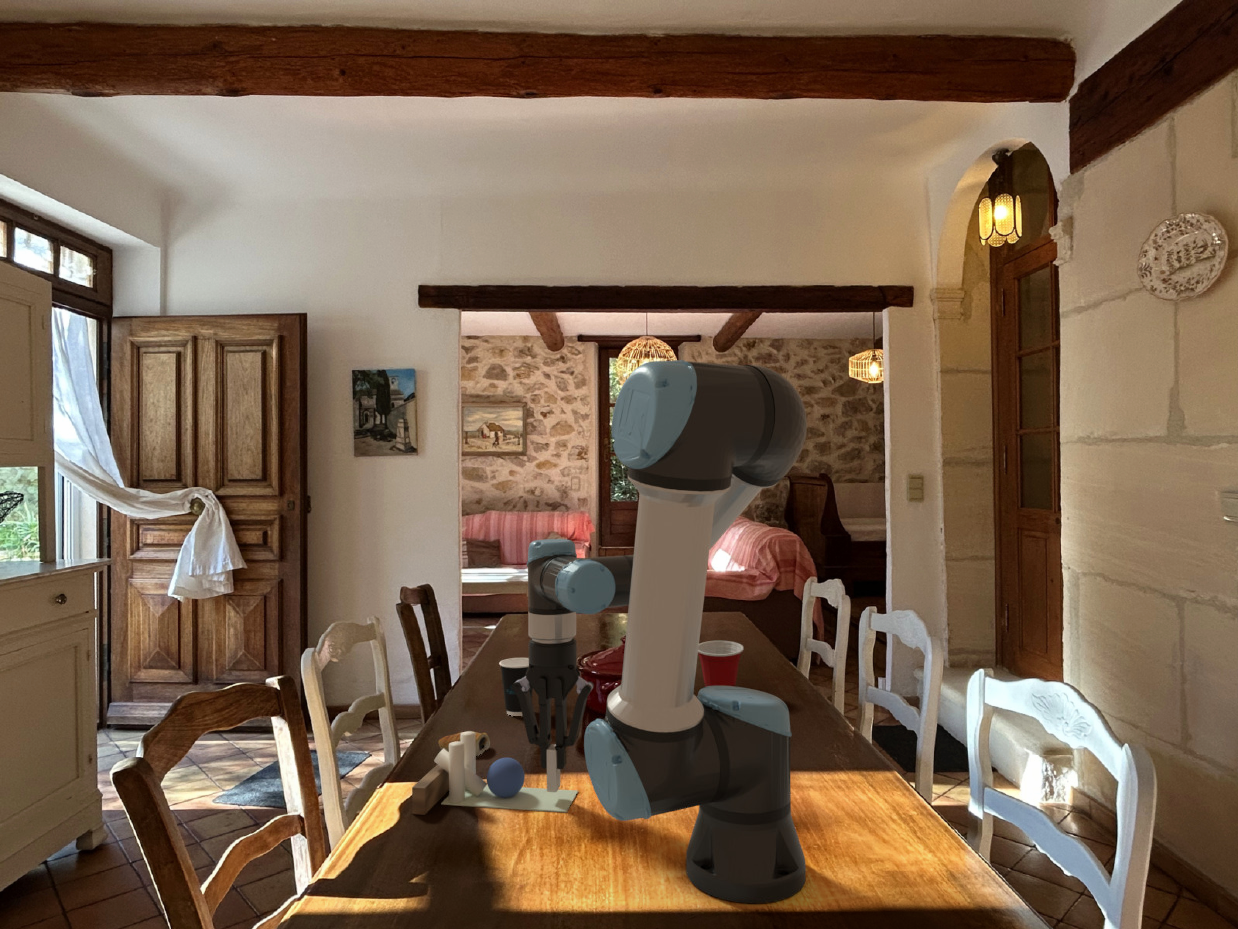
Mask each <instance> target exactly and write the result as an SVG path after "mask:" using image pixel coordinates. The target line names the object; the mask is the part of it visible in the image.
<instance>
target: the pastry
mask: <svg viewBox="0 0 1238 929" xmlns="http://www.w3.org/2000/svg"><path fill="white" fill-rule="evenodd" d="M471 731H472V730H471ZM462 732H463V731H460V732H457V733H455V734H449V735H446V736H443V737H441V738H439V740H438V746H439V749H440V751H441V750H442V749H443V748H444V749H445V750H446V751H448V752H449V743H451V742H456V741H460V734H461V733H462ZM472 732H475V747H476V756H477V757H480V756H481V755H483V753H484V752H485V750H486V751H487V750H489V749H490V747H491V740H490V738H489V735H488V734H487V733H486V732H481V733H480V732H477V731H472ZM460 742H461V741H460ZM480 754H481V755H480ZM479 755H480V756H479Z"/></svg>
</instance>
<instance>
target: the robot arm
mask: <svg viewBox="0 0 1238 929" xmlns="http://www.w3.org/2000/svg"><path fill="white" fill-rule="evenodd" d="M807 430H808V416H807V412H806V407H805V405H804V401H803V400H802V398H801V395H800V393H799V392H798V390H797V389H796V388H795V386H794V385H793V383H791V382H790V380H788V379H787V378H786V377H785V376H783V375H782V374H781V373H778V372H777V371H775V370H773V369H772V368H769V367H766V366H761V365H755V364H743V365H742V364H729V363H715V362H714V363H713V362H702V361H701V362H700V361H688V360H687V361H686V360H683V359H680V360H677V359H674V360H658V361H657V360H656V361H655V360H653V361H648V362H645V363H643V364H641V365H639V366H638V367H636V368H635V369H633V371H632V372H631V373H630V375H629V376H628V378H627V379H626V380H624V383H623V384H622V386H621V389H620V390H619V393H618V395H617V397H616V401H615V404H614V408H613V413H612V418H611V438H612V439H613V440H614V442H613V445H612V447H613V450H614V453H615V455H616V457H617V459H618V461H619V462H621V464H622V465H624V466H626V467H627V469H628V472H627V479H628V480H629V482H630V483H631V484H632V485H633V487H635V489H636V490H637V493H639V495H638V496H639V497H638V505H637V506H638V507H637V517H636V526H635V537H634V547H633V548H634V549H633V550H634V551H633V554H628V555H625V554H624V555H623V554H622V555H613V556H595V557H594V556H593V557H577V556H578V555H577V550H576V549H577V548H576V544H575V542H574V541H572V539H571V540H570V539H564V538H563V539H562V538H552V539H551V538H547V539H546V538H545V539H537V540H533V541H531V542H530V543H529V545H528V549H527V551H528V552H527V555H528V556H527V561H526V566H527V594H528V596H527V598H528V599H527V600H528V604H527V605H528V609H527V610H528V611H527V612H528V617H527V620H528V621H527V622H528V631H527V632H528V633H527V634H528V637H529V638H531V639H530V640H529V641H528V658H529V667H528V670H527V672H526V676H525V677H524V678H522V679H518V680H517V681H516V682H515V683H514V684H513V685H512V689H513V690H514V692H515V693H516V695H517V697H518V699H519V703H520V707H521V711H522V715H523V716H522V719H523V722H524V723H523V724H524V727H525V731H526V735H527V740H528V742H529V744H531V745H536V746H537V747H539V750H540V767H541V769H546V789H547V792H557V790H558V789H560V787H561V770H564V769H565V767H566V765H567V748H568V747H572V746H574V745H575V744H576V742H577V741H578V738H579V737H580V736H579V735H580V732H581V731H580V730H581V726H582V722H583V718H584V713H585V710H586V705H587V700H588V696H589V695H590V693H591V692H592V690H593V689H594V687H595V685H594V683H593V681H587V680H585V679H584V678H582V677H581V674H580V671H579V669H578V665H577V664H578V663H577V659H578V658H577V656H578V655H577V651H578V650H577V640H576V639H575V637H576V635H577V614H581V615H582V614H584V615H594V614H598V613H601V611H603V610H604V609H606V608H607V609H609V608H618V607H626V606H628V609H627V610H628V611H627V612H628V613H627V622H626V629H625V630H626V631H625V632H626V633H625V643H624V651H623V652H624V653H623V664H622V675H621V683H620V685H618V686H617V687H616V688H614V689H613V690H612V691H610V693H609V694H608V695H607V699H606V707H605V709H606V710H605V717H604V718H603V719H602V718H596V719H595V720H593V721H591V722H590V723H589V724H588V726H586V729H585V732H584V736H583V737H584V738H583V739H584V741H583V742H584V743H583V747H584V748H583V750H584V758H585V763H586V768H587V771H588V772H587V773H588V776H589V779H590V782H591V785H592V788H593V790H594V792H595V795H596V797H597V799H598V801H599V803H600V804H601V806H602V807H603V809H604V810H605V812H606V813H607V814H608V815H610V816H611V817H612V818H614V819H615V820H618V821H622V822H624V821H625V822H626V821H632V820H638V819H643V820H648V819H651V817H654V816H658V815H663V814H667V813H671V812H675V811H681V810H685V809H689V808H694V807H698V813H697V816H696V820H695V822H694V825H693V829H692V832H691V835H690V839H689V842H688V844H687V848H686V852H685V872H686V876H687V878H688V879H689V881H690V882H691V883H692V884H693V886H695V887H696V888H697V889H698V890H700V891H702V892H703V893H706V894H708V895H710V896H713V897H715V898H718V899H722V900H725V901H730V902H733V903H734V902H735V903H743V904H763V903H773V902H777V901H781V900H785V899H787V898H790V897H792V896H794V895H795V894H797V893H798V892H800V890H801V889H802V888H803V887H804V886H805V884H806V881H807V880H806V876H807V874H806V870H807V869H806V867H807V866H806V857H805V854H804V852H803V847H802V845H801V842H800V839H799V835H798V833H797V830H796V826H795V823H794V821H793V817H792V809H791V808H792V807H791V804H792V801H791V800H792V799H791V796H792V795H791V793H792V792H791V791H792V790H791V788H792V787H791V737H793V736H792V733H793V732H792V731H791V724H790V722H791V721H790V712H789V708H788V705H787V704H786V703H785V702H784V701H783V700H782V699H781V698H779V697H778V696H776V695H774V694H771V693H769V692H766V691H760V690H757V689H751V688H747V687H742V686H741V687H740V686H735V687H734V686H707V687H705V686H704V687H703V688H701V689H699V691H698V694H697V696H696V695H695V694H694V688H695V680H696V674H697V673H696V672H697V665H698V664H697V662H698V657H699V654H698V647H699V644H700V637H701V628H702V627H701V626H702V619H703V610H704V602H705V594H706V586H707V576H708V567H709V566H708V565H709V558H710V557H709V556H710V551H711V549H712V548H713V547H714V546H715V545H716V543H717V542H719V540H720V539H721V538H722V536H723V535H724V534H725V533H726V532H727V531H728V529H730V527H731V526H732V525H733V524H734V522H735V521H736V520H737V519H738V518H739V516H740V515H741V514H742V513H743V512H744V511H745V510H746V509H747V507H748V506H749V505H750V504H751V503H752V502H753V500H754V499H755V498H756V497H757V496H758V494H759V493H760V492H761V491H762V490H763V489H768V488H772V487H775V486H776V485H777V484H779V482H781V481H782V480H783V479H784V477H785V476H786V475H787V474H788V473H789V472H790V470H791V468H792V467H793V466H794V465H795V463H796V462H797V460H798V459H799V456H800V455H801V453H802V450H803V448H804V444H805V441H806V437H807ZM529 683H530V684H531V686H532V687H533V691H534V692H535V693H536V695H537V696H538V705H539V706H538V707H539V710H538V712H539V717H538V718H539V726H538V722H537V717H536V713H535V708H534V704H533V700H532V699H533V698H532V699H531V695H530V692H529V689H530V686H529ZM574 686H576V693H577V694H578V695H577V698H576V700H575V705H574V710H573V714H572V718H571V723H570V727H569V731H568V728H567V727H568V722H567V720H568V719H567V718H568V716H567V715H568V714H567V708H568V707H567V702H568V695H569V694H570V692H571V691H572V690H573V688H574ZM552 699H553V700H554V707H555V709H554V710H555V712H554V713H555V744H554V743H552V744H551V742H552V741H553V738H552V707H551V706H552V704H551V702H552Z"/></svg>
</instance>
